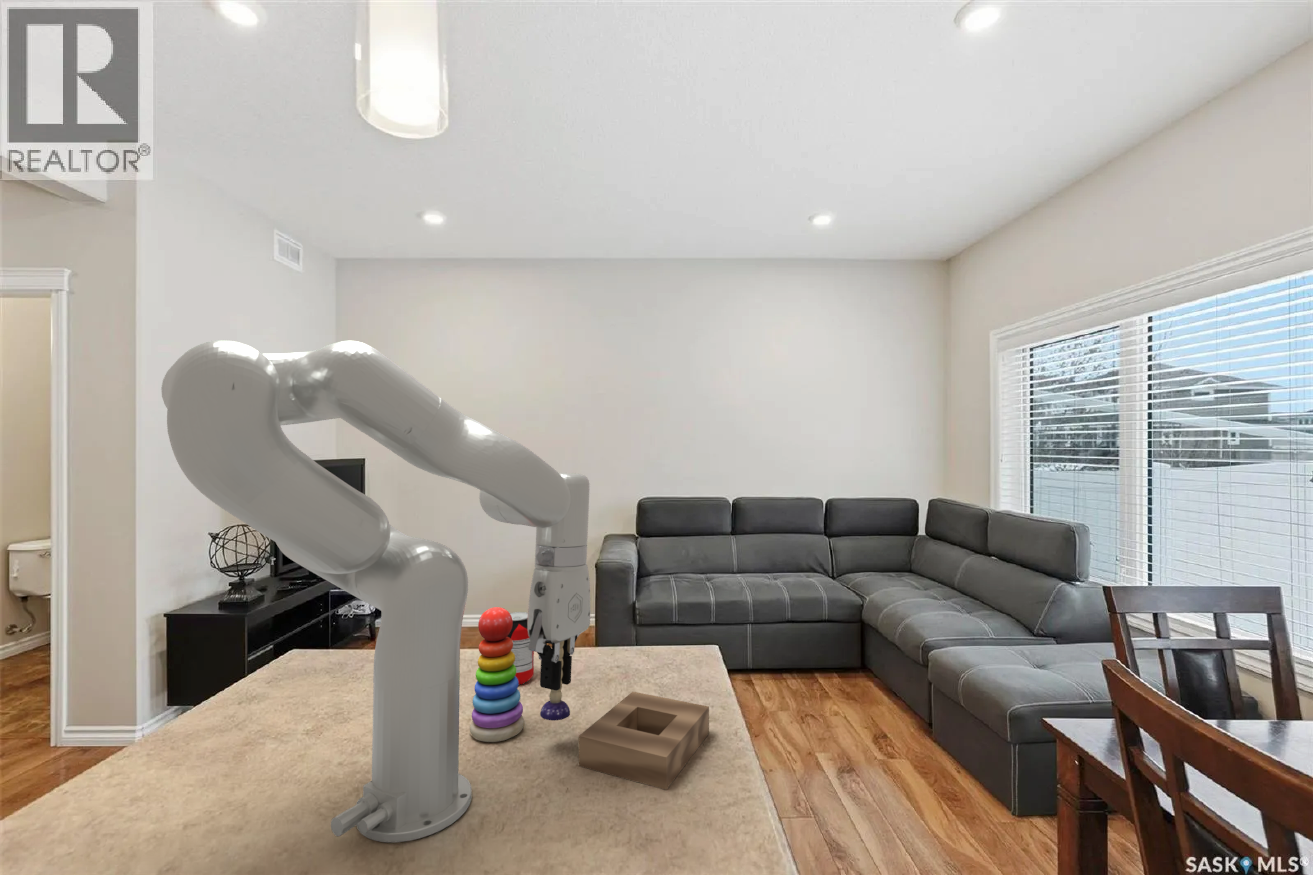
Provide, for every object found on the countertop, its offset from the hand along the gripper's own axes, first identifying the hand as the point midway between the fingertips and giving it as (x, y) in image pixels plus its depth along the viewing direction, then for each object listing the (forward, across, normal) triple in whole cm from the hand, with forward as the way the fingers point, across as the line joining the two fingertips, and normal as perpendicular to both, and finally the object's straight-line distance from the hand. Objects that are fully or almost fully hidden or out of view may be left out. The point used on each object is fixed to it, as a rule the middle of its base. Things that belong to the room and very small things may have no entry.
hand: (555, 684), depth 82 cm
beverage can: (+9, +18, +20) cm, 28 cm away
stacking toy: (+9, 0, +10) cm, 14 cm away
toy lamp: (+4, 0, 0) cm, 4 cm away
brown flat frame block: (+8, +5, -12) cm, 16 cm away
